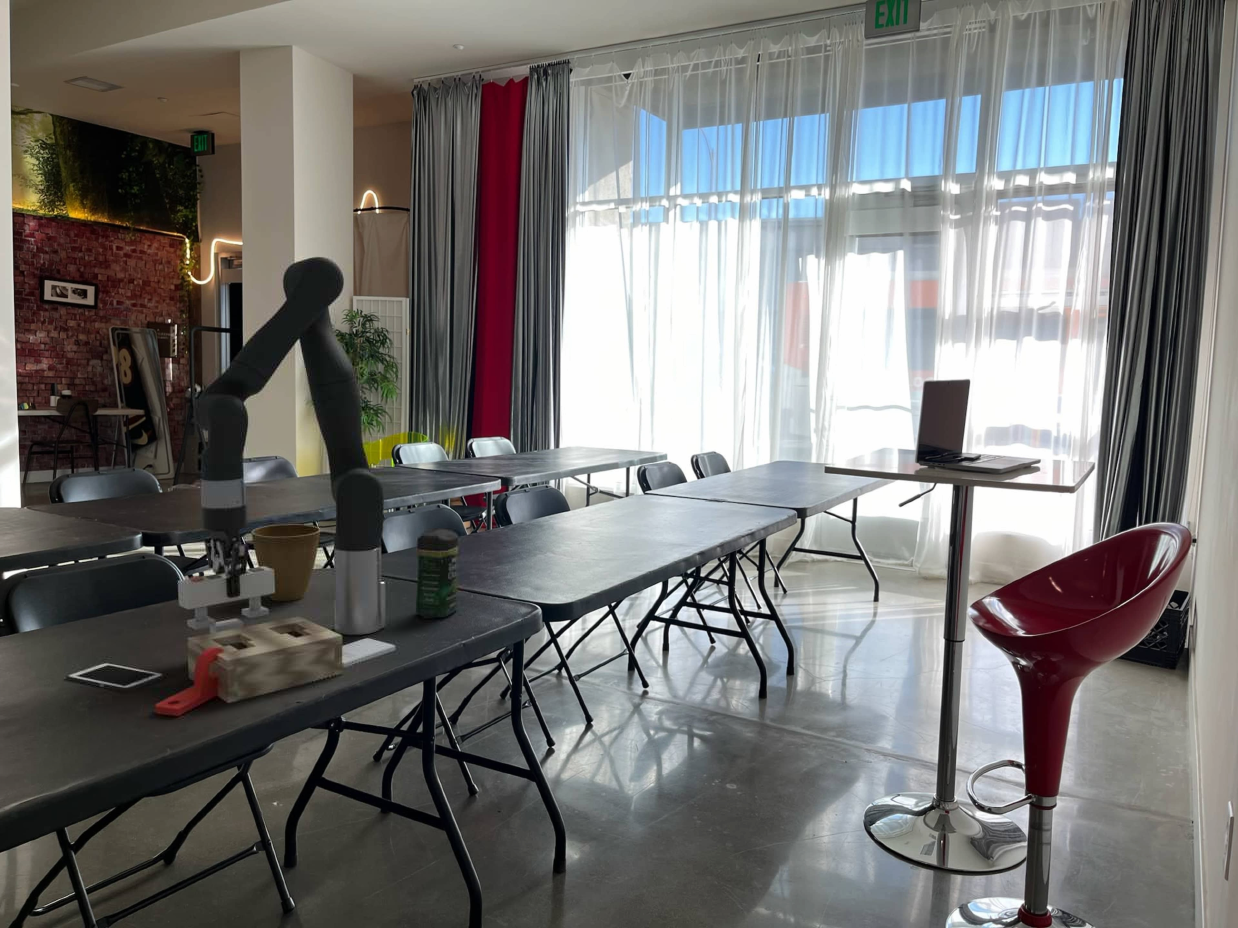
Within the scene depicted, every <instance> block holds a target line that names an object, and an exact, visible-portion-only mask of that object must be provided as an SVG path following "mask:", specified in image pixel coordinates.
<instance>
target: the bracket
mask: <svg viewBox="0 0 1238 928" xmlns="http://www.w3.org/2000/svg"><path fill="white" fill-rule="evenodd" d="M223 651H224V650H223V649H221V648H213V647H211V648H208V649H206V650H205V651H203V652H202V654H201V655H200V656H199V658H198V660H197V662H196V665H195V670H194V681H193V682H194V685H191V686H190V687H188V688H186V689H184V690H181V691H180V692H178V693H175V694H174V695H172V696H171V695H170V697H167V698H166V699H163V700H161V701H159V702H158V703H156V704H155V714H158V715H164V716H166V715H167V716H174V717H180V716H182V715H183V714H185V713H186V712H189V711H190V710H192V709H195V708H196V707H198V706H200V705H202V704H204V703H205V702H206V703H207V701H209V700H211V699H213V698H215V697H218V696H217V695H218V685H217V675H216V674H215V672H214V671H213V673H212V675H211V676H209V667H210V665H211V663H212V662H214V661H216V660H217V654H219V653H221V652H223Z"/></svg>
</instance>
